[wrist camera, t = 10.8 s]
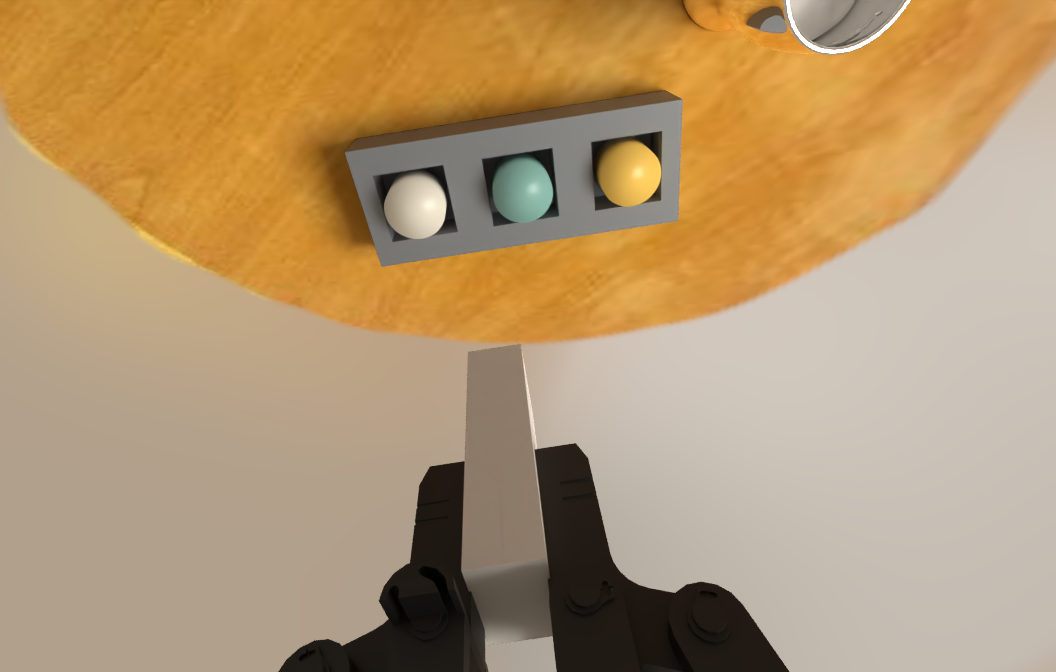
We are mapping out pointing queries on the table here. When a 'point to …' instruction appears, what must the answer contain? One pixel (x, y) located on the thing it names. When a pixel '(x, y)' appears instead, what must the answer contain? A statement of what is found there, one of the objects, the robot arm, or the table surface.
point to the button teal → (521, 187)
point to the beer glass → (800, 22)
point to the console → (480, 144)
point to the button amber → (627, 171)
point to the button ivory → (416, 203)
